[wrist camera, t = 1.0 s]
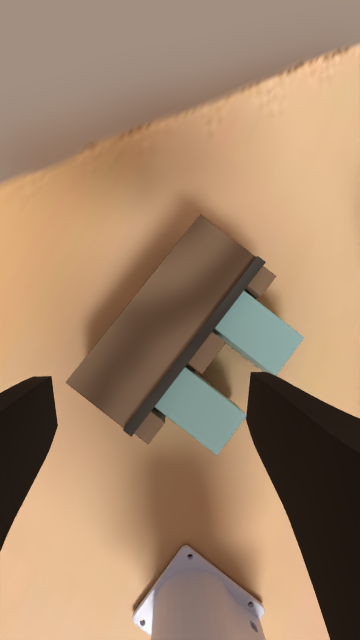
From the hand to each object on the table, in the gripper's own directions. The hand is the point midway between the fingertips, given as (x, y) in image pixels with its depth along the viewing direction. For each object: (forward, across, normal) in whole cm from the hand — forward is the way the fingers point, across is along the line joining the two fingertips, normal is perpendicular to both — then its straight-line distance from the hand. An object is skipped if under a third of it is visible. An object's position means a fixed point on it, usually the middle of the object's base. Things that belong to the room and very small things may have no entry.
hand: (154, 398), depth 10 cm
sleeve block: (+17, -2, +3) cm, 17 cm away
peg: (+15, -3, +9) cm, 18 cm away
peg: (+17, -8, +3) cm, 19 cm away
